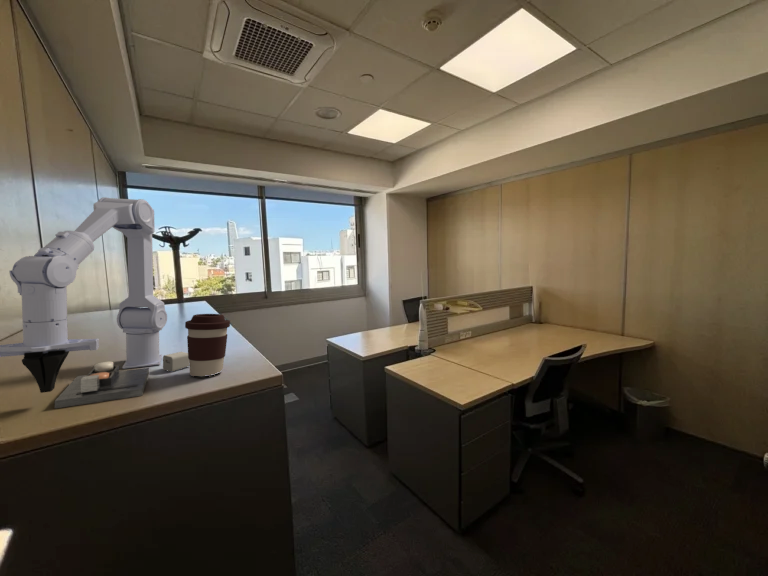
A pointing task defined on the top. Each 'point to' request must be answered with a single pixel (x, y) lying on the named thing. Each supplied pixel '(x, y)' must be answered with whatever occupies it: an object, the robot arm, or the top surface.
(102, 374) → the terracotta button
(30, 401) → the top surface
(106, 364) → the off-white button
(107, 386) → the control panel
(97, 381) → the light grey block
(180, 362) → the usb wall charger
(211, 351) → the coffee cup
